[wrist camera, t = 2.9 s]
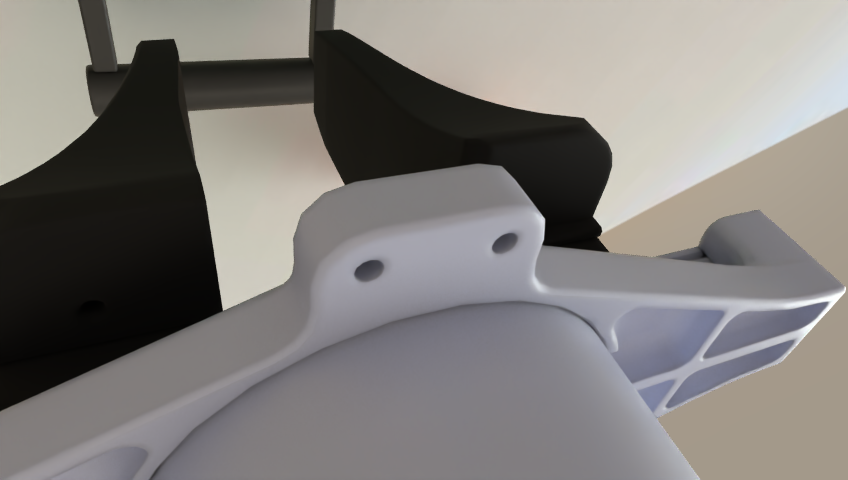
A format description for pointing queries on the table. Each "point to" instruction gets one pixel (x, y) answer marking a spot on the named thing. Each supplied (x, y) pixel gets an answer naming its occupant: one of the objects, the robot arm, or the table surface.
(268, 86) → the drawer
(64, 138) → the table surface
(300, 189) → the table surface
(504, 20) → the table surface
